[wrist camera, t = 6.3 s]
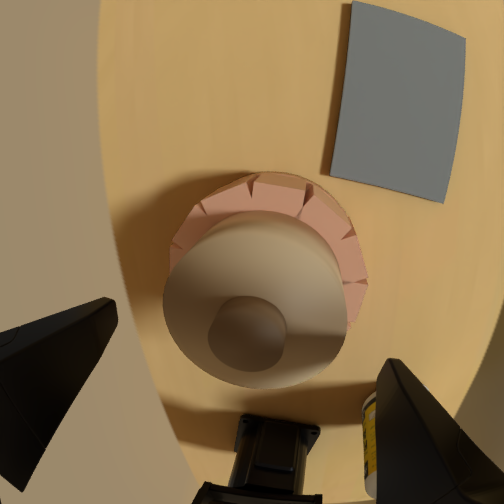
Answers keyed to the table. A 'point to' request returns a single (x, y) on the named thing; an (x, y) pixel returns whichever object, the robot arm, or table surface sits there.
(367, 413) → the supplement bottle
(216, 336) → the lid
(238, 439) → the robot arm
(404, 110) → the mat
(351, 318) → the pink notched ring
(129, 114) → the table surface
